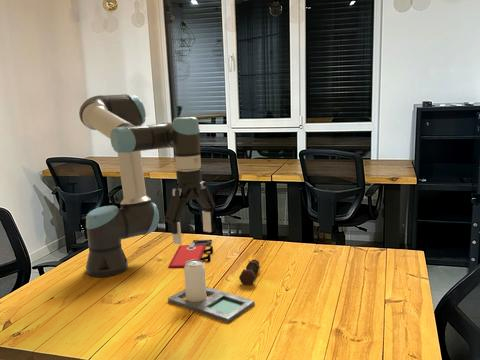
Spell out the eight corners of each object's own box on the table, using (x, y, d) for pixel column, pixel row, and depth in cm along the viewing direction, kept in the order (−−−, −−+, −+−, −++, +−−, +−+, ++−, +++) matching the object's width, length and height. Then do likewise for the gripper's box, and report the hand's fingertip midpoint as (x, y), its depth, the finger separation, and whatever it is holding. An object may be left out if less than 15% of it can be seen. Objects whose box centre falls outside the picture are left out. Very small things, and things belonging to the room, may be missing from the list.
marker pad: (207, 310, 133) (207, 309, 133) (223, 299, 139) (223, 299, 139) (228, 317, 128) (228, 316, 128) (244, 306, 134) (244, 305, 134)
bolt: (257, 273, 163) (249, 289, 149) (245, 266, 164) (236, 281, 150) (264, 260, 162) (257, 275, 148) (252, 253, 163) (244, 267, 148)
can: (209, 295, 142) (207, 259, 140) (201, 304, 137) (199, 267, 134) (191, 292, 145) (189, 258, 142) (182, 301, 139) (180, 265, 136)
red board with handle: (216, 241, 195) (183, 242, 196) (216, 235, 194) (182, 236, 195) (208, 268, 166) (168, 269, 167) (207, 261, 165) (167, 262, 166)
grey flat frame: (168, 301, 139) (167, 298, 139) (196, 286, 149) (195, 283, 149) (228, 322, 125) (228, 318, 125) (254, 304, 135) (254, 300, 135)
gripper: (167, 177, 121) (172, 251, 125) (224, 164, 140) (227, 228, 144) (148, 175, 125) (154, 246, 129) (206, 162, 145) (209, 225, 149)
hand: (192, 237), depth 137 cm, fingers open, 13 cm apart
